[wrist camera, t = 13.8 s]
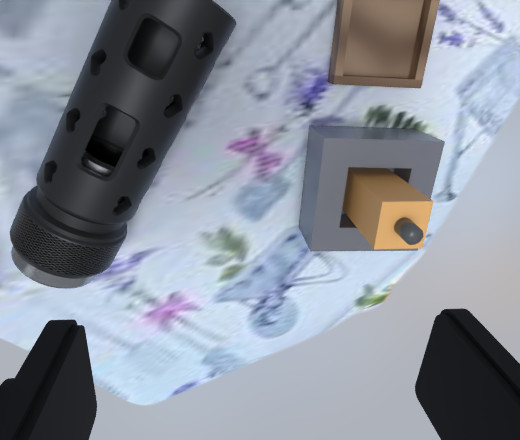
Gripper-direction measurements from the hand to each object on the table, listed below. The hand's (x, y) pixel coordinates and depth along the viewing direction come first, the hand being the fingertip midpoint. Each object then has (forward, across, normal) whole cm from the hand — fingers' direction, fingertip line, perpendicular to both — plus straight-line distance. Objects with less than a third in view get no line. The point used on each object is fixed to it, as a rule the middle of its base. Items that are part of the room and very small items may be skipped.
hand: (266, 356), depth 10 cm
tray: (+33, -15, -9) cm, 38 cm away
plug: (+31, -15, +6) cm, 35 cm away
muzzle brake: (+34, +10, +1) cm, 35 cm away
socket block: (+33, -15, +6) cm, 37 cm away
